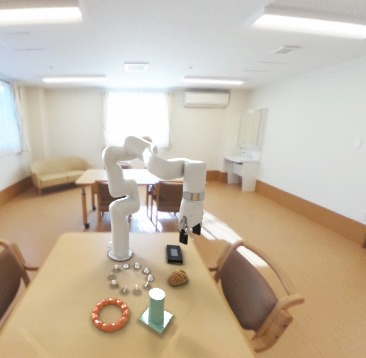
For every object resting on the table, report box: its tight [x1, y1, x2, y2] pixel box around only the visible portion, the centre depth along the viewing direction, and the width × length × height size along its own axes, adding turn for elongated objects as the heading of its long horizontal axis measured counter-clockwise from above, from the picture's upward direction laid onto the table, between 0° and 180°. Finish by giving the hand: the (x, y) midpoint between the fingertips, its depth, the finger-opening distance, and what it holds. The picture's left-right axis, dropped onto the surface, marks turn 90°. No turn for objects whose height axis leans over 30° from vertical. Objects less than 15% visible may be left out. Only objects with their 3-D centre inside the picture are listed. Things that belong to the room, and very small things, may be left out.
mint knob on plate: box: [138, 287, 173, 334], centre depth 75 cm, size 9×9×11 cm
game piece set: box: [110, 261, 154, 292], centre depth 97 cm, size 19×20×4 cm
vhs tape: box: [166, 244, 184, 265], centre depth 115 cm, size 8×14×2 cm, turn 172°
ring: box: [90, 297, 130, 333], centre depth 77 cm, size 14×14×2 cm
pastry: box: [168, 268, 189, 287], centre depth 95 cm, size 9×7×4 cm
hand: (190, 238), depth 79 cm, fingers open, 9 cm apart
